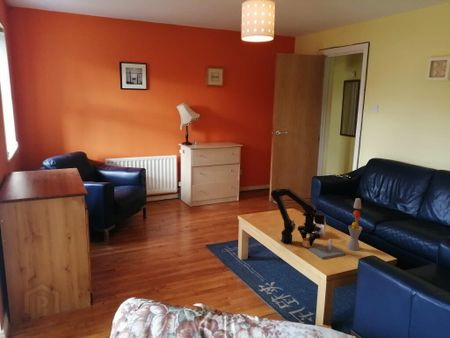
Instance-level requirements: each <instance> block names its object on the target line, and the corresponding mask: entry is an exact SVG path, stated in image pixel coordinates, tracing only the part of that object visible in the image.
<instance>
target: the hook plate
mask: <svg viewBox="0 0 450 338" xmlns="http://www.w3.org/2000/svg"><path fill="white" fill-rule="evenodd" d="M308 249H309V250H308V251H309V252H311V253H312V254H314V255H315V256H316V257H318V258H319V259H321V260H325V259H330V258H331V257H332V258H337V257H343V256H346V252H344V251H343V250H341V249H339V248H338V247H336V246H334V245H333V239H331V238H329V239H328V241H327V245H321V246H320V245H319V246H314V247H309V248H308Z"/></svg>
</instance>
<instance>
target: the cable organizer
mask: <svg viewBox="0 0 450 338" xmlns="http://www.w3.org/2000/svg"><path fill="white" fill-rule="evenodd" d="M314 223H315V222H314ZM315 224H316V223H315ZM316 226H318V227H320V228H321V229H320V232H317V231H315V232H312V233H318V234H320V236H322V237H324V236H326V229H327V223H326V221H325V225H321V224H316Z"/></svg>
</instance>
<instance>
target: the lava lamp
mask: <svg viewBox="0 0 450 338" xmlns="http://www.w3.org/2000/svg"><path fill="white" fill-rule="evenodd" d="M353 209H356V210H354V211H353V216H354V220H355V221H354V222H352V224H350V225H347V226H348V230H349V235H350V238H349V240H348V243H347V245H346V249H347V250H350V251H354V252H359V251H360V250H361V246H360V243H359V236H360V234H361V232H362V230H363V227H362V226H360V225H359V220H360V215H361V212H360V210H359V209H362V201H361V198H359V197H358V198H357V197H356V198H355V201H354V203H353Z"/></svg>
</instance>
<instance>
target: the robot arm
mask: <svg viewBox="0 0 450 338" xmlns="http://www.w3.org/2000/svg"><path fill="white" fill-rule="evenodd" d="M270 196H271V198H272V199H273V200H274V202H275V203H276V205H277V208H278V210H279V212H280V215H281V218H282V220H283V227H284V228H283V230H282V231H281V239H280V242H281V243H282V244H284V245H288V244H289V245H290V244H293V232H294V231H295V230H296V224H295V220H292V219H291V218H290V216H289V212H288V210H287V207H286V205H285V203H284V200H283V197H285V196H288V197H289V198H290V199H291V200H292V201H294V202H296V203H297V204H298V205H299V206H300V207H301V208H302V210H303V211H304V212H303V214H302V216H304V218H305V219H304V222H303V225H298V226H297V231H299V234H300V236H301V238H302V240H303V239H304V238H309V243H310V246H312V244H313V245H314V242H315V240H319V239H321V235H320V234H319V233H312V232H315V231H317V232H320V229H321V228H320V227H318V226H316V224H321V225H325V222H326V221H327V220H326V214H321V213H319V212H318V211H317V209H316V205H315V204H314V203H313V202H310V201H307V200H305V199H303V198H302V197H301V196H300V195H298V194H297V193H296V192H295V191H293V190H292V188H278V187H276V188H274V189H273V190H271V192H270ZM314 222H315V223H316V224H315V223H314ZM307 235H309V237H307Z"/></svg>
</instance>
